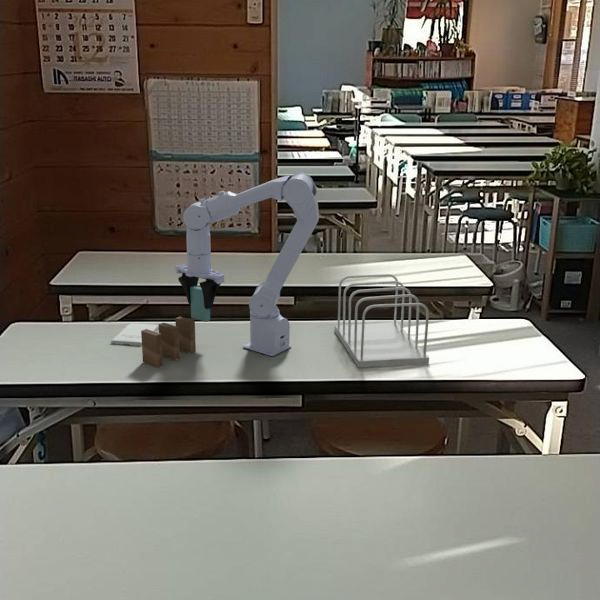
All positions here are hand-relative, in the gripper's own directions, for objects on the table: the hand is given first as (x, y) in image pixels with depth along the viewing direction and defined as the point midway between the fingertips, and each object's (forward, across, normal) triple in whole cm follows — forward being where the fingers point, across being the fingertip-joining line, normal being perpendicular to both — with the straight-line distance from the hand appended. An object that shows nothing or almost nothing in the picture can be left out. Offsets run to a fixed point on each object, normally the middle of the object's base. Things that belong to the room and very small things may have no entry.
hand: (200, 305), depth 182 cm
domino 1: (+10, 0, -16) cm, 19 cm away
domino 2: (+10, 0, -11) cm, 15 cm away
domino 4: (+3, 0, 0) cm, 3 cm away
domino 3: (+10, 0, -6) cm, 12 cm away
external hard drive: (+11, -17, -7) cm, 21 cm away
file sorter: (+10, +36, +26) cm, 46 cm away
